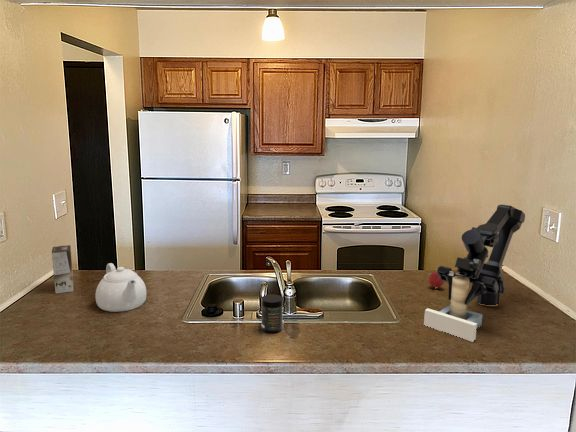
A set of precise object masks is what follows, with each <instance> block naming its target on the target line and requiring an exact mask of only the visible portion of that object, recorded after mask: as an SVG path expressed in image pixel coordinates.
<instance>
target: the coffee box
mask: <svg viewBox="0 0 576 432" xmlns="http://www.w3.org/2000/svg"><path fill="white" fill-rule="evenodd" d="M51 257H52V268H53V270H52V271H53V281H54V290H55V293H54V294H61V293H62V294H63V293H70V292H71V293H72V292H74V274H73V273H74V271H73V262H72V250H71V245H70V244H69V245H68V244H67V245H58V246H52V249H51Z"/></svg>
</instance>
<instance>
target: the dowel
mask: <svg viewBox="0 0 576 432" xmlns="http://www.w3.org/2000/svg"><path fill="white" fill-rule="evenodd" d="M469 288H470V283H469V278H467V277H463V276H454V277H453V280H452V292H451V300H450V304H449V305H450V315H451V316H455V317H458V318H461V319H464V320H466V313H467V310H468V304H467V305H465V301H466V298H467V296H468V294H469V292H470V289H469Z"/></svg>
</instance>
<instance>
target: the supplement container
mask: <svg viewBox="0 0 576 432" xmlns="http://www.w3.org/2000/svg"><path fill="white" fill-rule="evenodd" d="M260 304H261V330H262V331H263V332H265V333H268V334H277V333H280V332H281V331H282V330H283V317H284V316H283V309H284V306H283V305H284V297H283V296H281V295H279V294H271V293H270V294H266V295H263V296H261V303H260Z"/></svg>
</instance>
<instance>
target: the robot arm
mask: <svg viewBox="0 0 576 432" xmlns="http://www.w3.org/2000/svg"><path fill="white" fill-rule="evenodd" d="M525 220H526V214H525V212H523V210H522V209H518V208H515V207H514V206H512V205H508V204H498V205H497V207H496V210H495V211H494V213H492V215H491V216H490V218H489V219H488V220H487V222H485V223H484V224H479V225H478V226H477V227H475V226H474V227H471V229H469V230H466V231H465V232H463V233H462V235H461V241H462V243H463V245H464V248H465V250H466V252H467V255H466V257H457V258H456V260H455V261H456V262H455V264H454V267H455V268H456V271H457V272H458V273H457V272H455V271H453V270H452V267H448V266H445V265H440V266H438V267H437V269H436V270H437V271H436V270H435V271H436V272H437V274H438V276H439V278H440V279H441V280H443V281H444V282H447V284H448V300H449V301H451V292H452V280H453V277H454V276H463V277H467V278H469V284H471V288H470V289H469V291H468V296H467V298H466V301H465V305H467V306H468V305H469V304H470V303H471V302H472V301H473V300H475V299H476V298H477V299H476V303H477V302H478V303H480V304H485V305H496V304H500V298H501V296H500V295H501V294H505V290H506V283H505V280H504V274H503V271H502V266H503V262H504V260H505V258H506V254H507V252H508V249H509V246H510V243H511V240H512V238H513V236H514V233H516V232H517V231H519V230H520V229H521V226H522V224H524V222H525ZM487 247H489V248H492V250H491V252H490V256H489V249H488V248H487ZM487 258H488V261H486V260H487ZM478 303H477V304H478Z"/></svg>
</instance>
